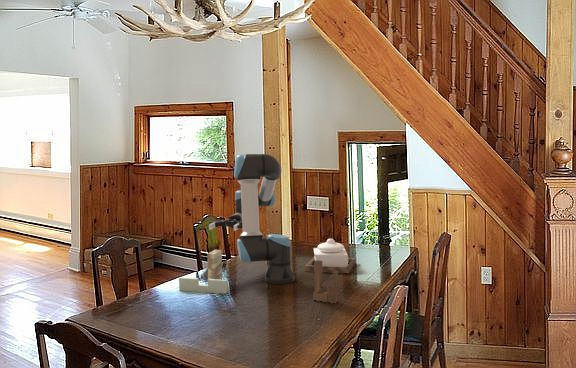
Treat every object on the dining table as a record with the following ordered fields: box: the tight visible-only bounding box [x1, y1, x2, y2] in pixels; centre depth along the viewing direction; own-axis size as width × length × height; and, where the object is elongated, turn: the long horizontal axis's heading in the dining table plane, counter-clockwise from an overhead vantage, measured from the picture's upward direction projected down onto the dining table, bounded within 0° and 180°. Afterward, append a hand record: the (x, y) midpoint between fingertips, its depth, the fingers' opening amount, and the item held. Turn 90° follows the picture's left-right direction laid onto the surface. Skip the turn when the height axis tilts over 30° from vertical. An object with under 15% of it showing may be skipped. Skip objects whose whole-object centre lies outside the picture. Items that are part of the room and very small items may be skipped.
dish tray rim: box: [304, 255, 357, 274], centre depth 324 cm, size 24×24×3 cm
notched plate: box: [206, 249, 223, 280], centre depth 293 cm, size 4×10×16 cm, turn 165°
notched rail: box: [178, 276, 229, 294], centre depth 279 cm, size 24×2×6 cm, turn 75°
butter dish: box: [313, 238, 349, 267], centre depth 323 cm, size 18×18×16 cm
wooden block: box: [312, 260, 339, 304], centre depth 260 cm, size 4×11×18 cm, turn 61°
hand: (221, 227), depth 302 cm, fingers open, 13 cm apart
